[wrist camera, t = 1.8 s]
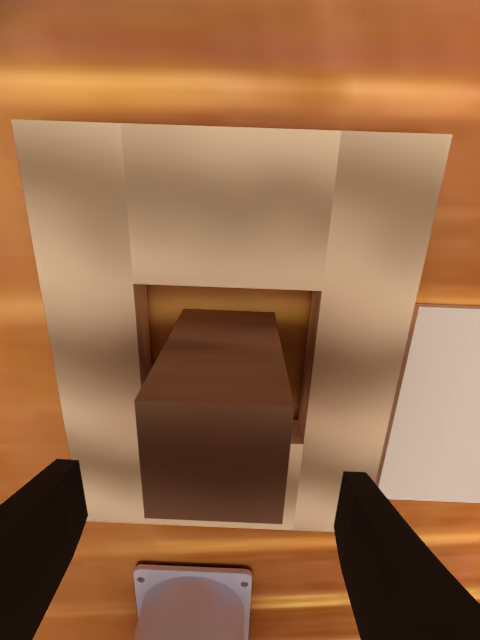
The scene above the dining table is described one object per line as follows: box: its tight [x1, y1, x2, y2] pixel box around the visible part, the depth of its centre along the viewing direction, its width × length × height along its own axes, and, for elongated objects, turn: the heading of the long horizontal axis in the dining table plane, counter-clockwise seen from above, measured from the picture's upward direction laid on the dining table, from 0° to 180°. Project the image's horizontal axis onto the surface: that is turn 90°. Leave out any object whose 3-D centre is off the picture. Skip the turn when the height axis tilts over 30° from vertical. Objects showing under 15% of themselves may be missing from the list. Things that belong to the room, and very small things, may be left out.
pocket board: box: [11, 119, 453, 532], centre depth 17 cm, size 20×16×2 cm
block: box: [134, 309, 295, 524], centre depth 14 cm, size 4×4×8 cm
